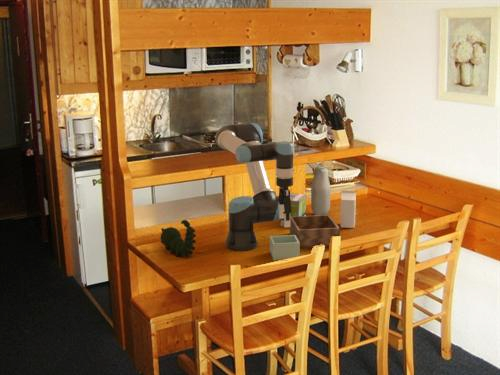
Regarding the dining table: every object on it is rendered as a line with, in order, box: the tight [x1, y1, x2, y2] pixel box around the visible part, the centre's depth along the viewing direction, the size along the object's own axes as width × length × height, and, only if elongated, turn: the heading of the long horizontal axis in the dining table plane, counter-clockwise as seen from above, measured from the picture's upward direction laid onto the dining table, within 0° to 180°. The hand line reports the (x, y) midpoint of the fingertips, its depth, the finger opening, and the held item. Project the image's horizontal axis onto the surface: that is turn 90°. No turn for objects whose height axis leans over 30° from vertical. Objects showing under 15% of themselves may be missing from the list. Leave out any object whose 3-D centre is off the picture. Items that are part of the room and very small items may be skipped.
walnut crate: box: [289, 214, 341, 249], centre depth 322 cm, size 20×22×9 cm
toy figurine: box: [160, 219, 197, 258], centre depth 306 cm, size 9×19×25 cm
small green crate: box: [269, 234, 301, 262], centre depth 301 cm, size 12×11×8 cm
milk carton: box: [339, 190, 357, 229], centre depth 342 cm, size 7×7×19 cm
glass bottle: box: [310, 165, 332, 215], centre depth 359 cm, size 10×10×28 cm
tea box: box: [280, 192, 307, 227], centre depth 348 cm, size 15×10×15 cm, turn 161°
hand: (284, 222), depth 298 cm, fingers open, 13 cm apart
